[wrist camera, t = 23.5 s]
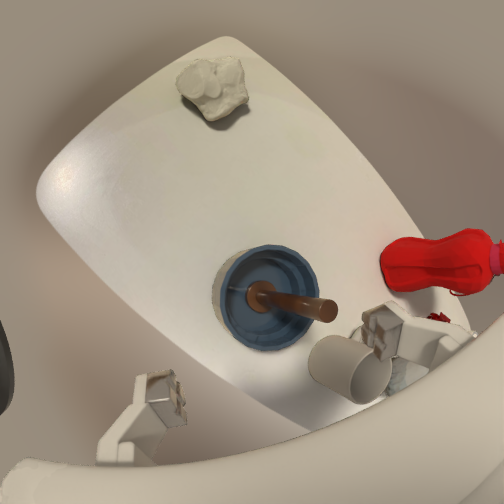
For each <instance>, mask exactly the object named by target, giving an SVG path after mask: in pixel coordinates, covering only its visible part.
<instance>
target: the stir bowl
mask: <svg viewBox="0 0 504 504" xmlns="http://www.w3.org/2000/svg"><path fill="white" fill-rule="evenodd" d="M259 280H261V281H268V282H270V283H271V284H272V285H273V286H274V287H275V289H276V291H277V292H282V293H289V294H295V295H302V296H308V297H315V298H319V287H318V283H317V278H316V275H315V273H314V271H313V270H312V268H311V266H310V264H309V263H308V262H307V261H306V260H305V259H304V258H303V257H302V256H301V255H300V254H299V253H298V252H296V251H294V250H291V249H289V248H287V247H285V246H280V245H264V246H260V247H256V248H252V249H248V250H244V251H241V252H239V253H237V254H236V255H234V256H233V257H231V258H229V259H228V260H227V261H226V262H225V264H224V265H223V266H222V267H221V269H220V270H219V271H218V273H217V276H216V278H215V281H214V284H213V287H212V304H213V308H214V311H215V315H216V317H217V319H218V320H219V322H220V323H221V325H222V326H223V327H224V329H225V330H226V331H228V332H229V333H230V334H231V335H232V336H233V337H234V338H236V339H237V340H238V341H240V342H241V343H243V344H244V345H245V346H247V347H250V348H253V349H257V350H260V351H272V350H280V349H282V348H285V347H287V346H290V345H292V344H294V343H295V342H296V341H297V340H298V339H300V338H301V337H302V336H303V335H304V334H305V333H306V332H307V330H308V329H309V327H310V326H311V324H312V323H313V321H314V319H310V318H307V317H303V316H300V315H296V314H293V313H290V312H286V311H283V310H280V309H276V308H272V309H271V310H269V311H267V312H262V313H261V312H257V311H254V310H252V309H251V308H249V306H248V305H247V303H246V301H245V292H246V289H247V288H248V286H249V285H250V284H251V283H253V282H255V281H259Z"/></svg>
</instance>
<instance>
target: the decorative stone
mask: <svg viewBox="0 0 504 504" xmlns="http://www.w3.org/2000/svg"><path fill="white" fill-rule="evenodd" d="M176 87H177V89H178V91H179V92H180V93H181V94H182V95H183V96H184V97H186V98H187V99H188V100H190V101H192V102H193V103H194V104H195V105H196V106H197V107H198V109H199V110H200V111H201V112H202V114H203V115H204V117H205V119H207V120H208V121H215V120H218V119H220V118H222V117H225V116H227V115H229V114H230V113H231V112H232V111H233V110H234V109H235V108H236V107H237V106H239V105H241V104H243V103H246V102H247V101H248V100H249V97H248V93H247V90H246V88H245V81H244V70H243V67H242V65H241V62H240V60H239V58H233V57H231V56H230V57H226V58H224V59H220V60H219V59H215V60H211V61H208V60H203V59H196V60H194V61H193V62H192V63H191V64H190V65H189V66H188V67H186V68H185V69H184V70H183V71H182V72H181V73H180V74H179V75H178V76H177V78H176Z"/></svg>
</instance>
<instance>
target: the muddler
mask: <svg viewBox="0 0 504 504" xmlns="http://www.w3.org/2000/svg"><path fill="white" fill-rule="evenodd" d="M245 301H246V303H247V305H248V306H249V308H251V309H252V310H254V311H257V312H261V313H262V312H267V311H269V310H271V309H272V308H276V309H280V310H283V311H286V312H290V313H293V314H296V315H300V316H303V317H307V318H310V319H314V320H317V321H321V322H324V323H329V322H332V321H333V320H334V319H335V318H336V316H337V313H338V307H337V304H336V303H335V302H334V301H333V300H329V299H322V298H315V297H308V296H302V295H295V294H289V293H282V292H277V291H276V289H275V287H274V286H273V285H272V284H271V283H270V282H268V281H261V280H259V281H255V282H253V283H251V284H250V285H249V286H248V288H247V289H246V292H245Z"/></svg>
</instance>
